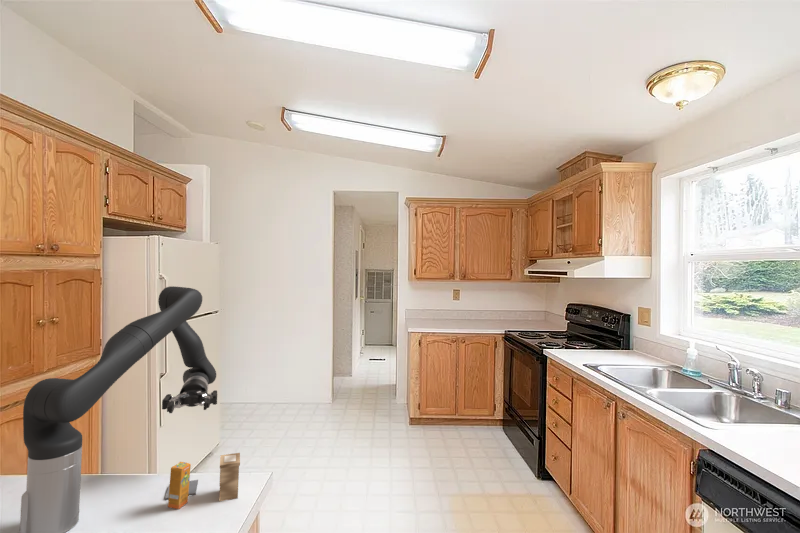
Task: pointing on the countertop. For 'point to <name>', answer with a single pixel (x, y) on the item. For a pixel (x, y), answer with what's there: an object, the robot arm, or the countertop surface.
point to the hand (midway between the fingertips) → (188, 408)
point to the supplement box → (179, 485)
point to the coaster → (192, 489)
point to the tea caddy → (229, 476)
